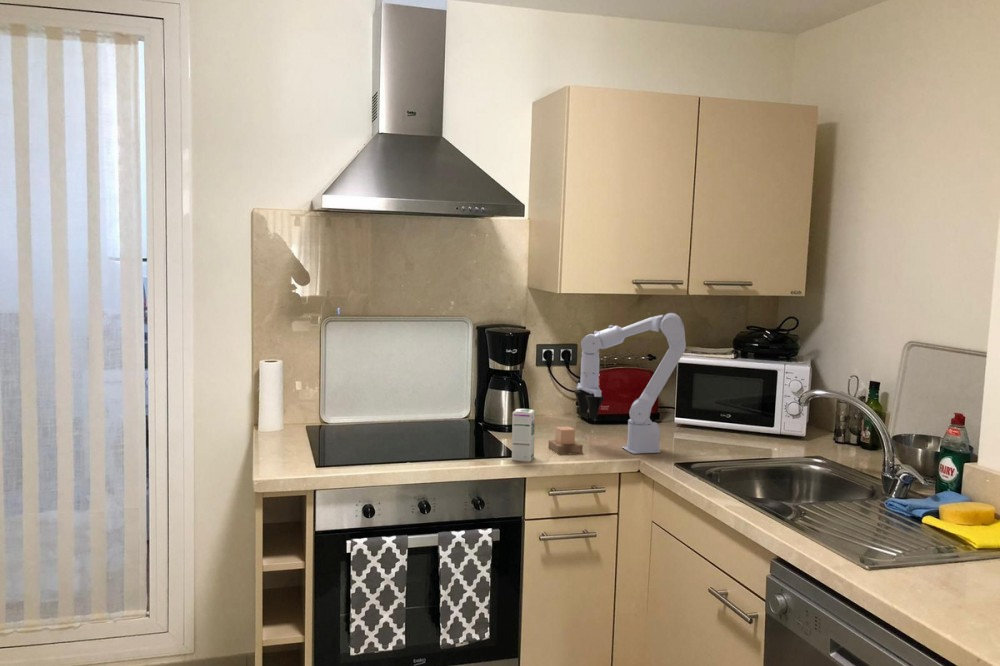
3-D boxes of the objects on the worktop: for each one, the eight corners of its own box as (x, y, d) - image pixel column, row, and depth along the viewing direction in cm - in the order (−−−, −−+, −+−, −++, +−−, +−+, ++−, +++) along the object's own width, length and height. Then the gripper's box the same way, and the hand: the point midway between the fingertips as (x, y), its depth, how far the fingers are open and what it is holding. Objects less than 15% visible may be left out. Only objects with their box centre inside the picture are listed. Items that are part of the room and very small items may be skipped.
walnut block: (572, 448, 261) (572, 439, 261) (582, 454, 254) (582, 445, 253) (548, 449, 259) (548, 440, 259) (557, 456, 251) (558, 446, 251)
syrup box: (530, 462, 241) (532, 412, 240) (510, 460, 243) (512, 411, 241) (534, 457, 247) (535, 409, 246) (514, 455, 248) (516, 407, 247)
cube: (568, 440, 259) (569, 426, 258) (574, 443, 254) (574, 429, 254) (555, 441, 257) (555, 427, 257) (560, 444, 253) (561, 430, 253)
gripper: (569, 369, 266) (567, 411, 267) (586, 376, 252) (585, 420, 253) (589, 369, 268) (588, 410, 269) (608, 376, 254) (606, 419, 255)
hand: (588, 415), depth 262 cm, fingers open, 7 cm apart
